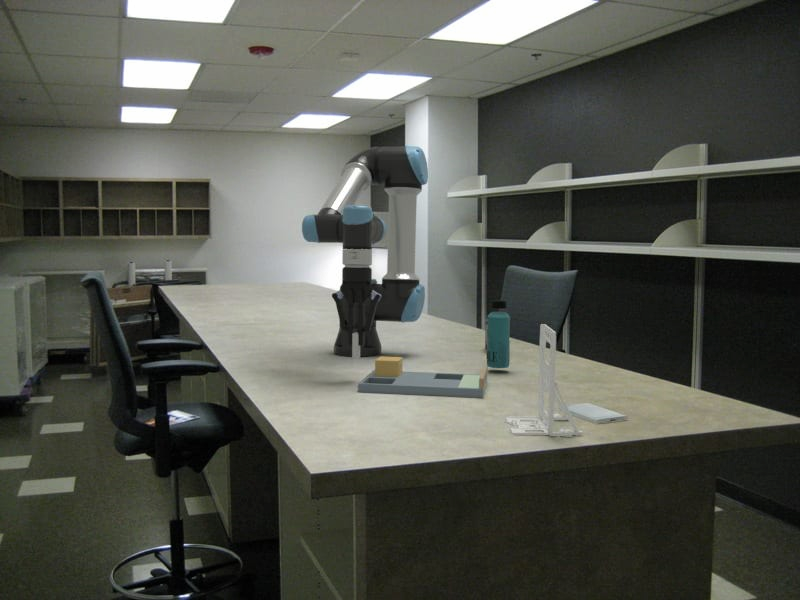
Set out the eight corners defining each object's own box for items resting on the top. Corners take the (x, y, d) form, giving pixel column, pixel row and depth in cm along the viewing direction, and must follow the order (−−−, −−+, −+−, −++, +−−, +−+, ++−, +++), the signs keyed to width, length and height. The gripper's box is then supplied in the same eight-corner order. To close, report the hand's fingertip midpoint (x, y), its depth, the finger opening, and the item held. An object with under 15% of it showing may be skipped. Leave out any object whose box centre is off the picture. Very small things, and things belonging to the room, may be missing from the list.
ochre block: (375, 375, 190) (375, 360, 189) (379, 371, 196) (379, 356, 195) (398, 376, 189) (398, 361, 188) (402, 372, 195) (402, 357, 194)
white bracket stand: (502, 417, 157) (504, 323, 155) (568, 418, 156) (571, 323, 154) (510, 436, 142) (513, 332, 140) (583, 437, 142) (587, 333, 140)
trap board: (358, 391, 180) (358, 373, 180) (373, 377, 198) (373, 360, 197) (483, 397, 175) (483, 378, 175) (487, 382, 193) (487, 365, 192)
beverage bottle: (512, 370, 210) (514, 299, 208) (505, 374, 204) (507, 301, 202) (490, 368, 212) (491, 298, 210) (482, 372, 206) (484, 300, 204)
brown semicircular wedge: (507, 354, 236) (508, 323, 236) (488, 354, 237) (488, 323, 236) (503, 348, 249) (503, 319, 248) (484, 348, 249) (485, 318, 248)
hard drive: (559, 406, 163) (597, 418, 152) (588, 402, 167) (628, 414, 155) (558, 413, 163) (596, 426, 152) (588, 409, 167) (628, 422, 156)
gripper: (328, 266, 189) (327, 359, 190) (379, 267, 186) (378, 361, 188) (336, 265, 196) (335, 354, 198) (384, 266, 194) (383, 356, 195)
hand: (356, 357), depth 193 cm, fingers closed
